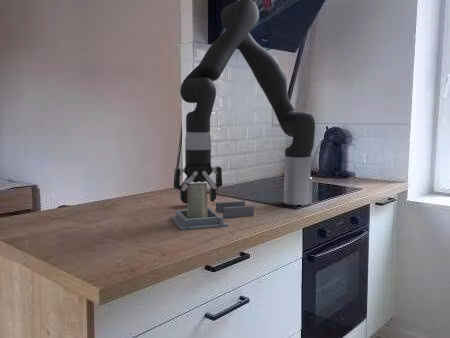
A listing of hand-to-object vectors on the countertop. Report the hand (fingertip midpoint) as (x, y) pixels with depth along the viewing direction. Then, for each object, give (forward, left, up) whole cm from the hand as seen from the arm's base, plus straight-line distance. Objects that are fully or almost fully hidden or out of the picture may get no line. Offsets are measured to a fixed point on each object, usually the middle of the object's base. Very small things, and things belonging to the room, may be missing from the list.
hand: (198, 202), depth 122 cm
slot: (-14, -7, -6) cm, 17 cm away
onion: (-3, -22, -6) cm, 23 cm away
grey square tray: (0, 0, -6) cm, 6 cm away
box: (0, 0, -6) cm, 6 cm away
